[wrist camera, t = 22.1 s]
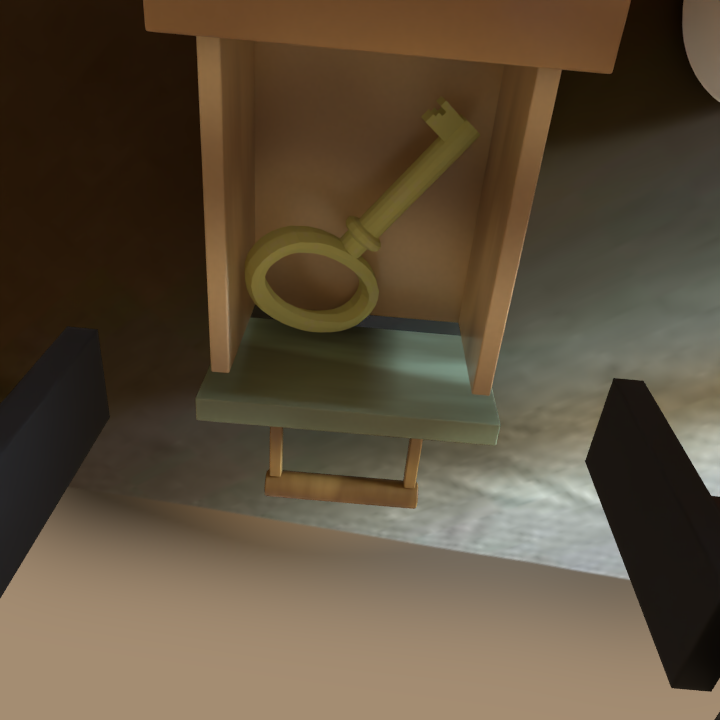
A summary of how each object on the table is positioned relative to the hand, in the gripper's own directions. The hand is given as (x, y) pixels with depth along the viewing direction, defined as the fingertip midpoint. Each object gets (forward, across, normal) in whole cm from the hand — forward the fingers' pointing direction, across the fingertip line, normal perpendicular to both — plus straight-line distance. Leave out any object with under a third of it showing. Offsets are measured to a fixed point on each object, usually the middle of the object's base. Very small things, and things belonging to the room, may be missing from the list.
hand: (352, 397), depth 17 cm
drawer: (+17, 0, -3) cm, 17 cm away
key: (+15, -1, -1) cm, 15 cm away
